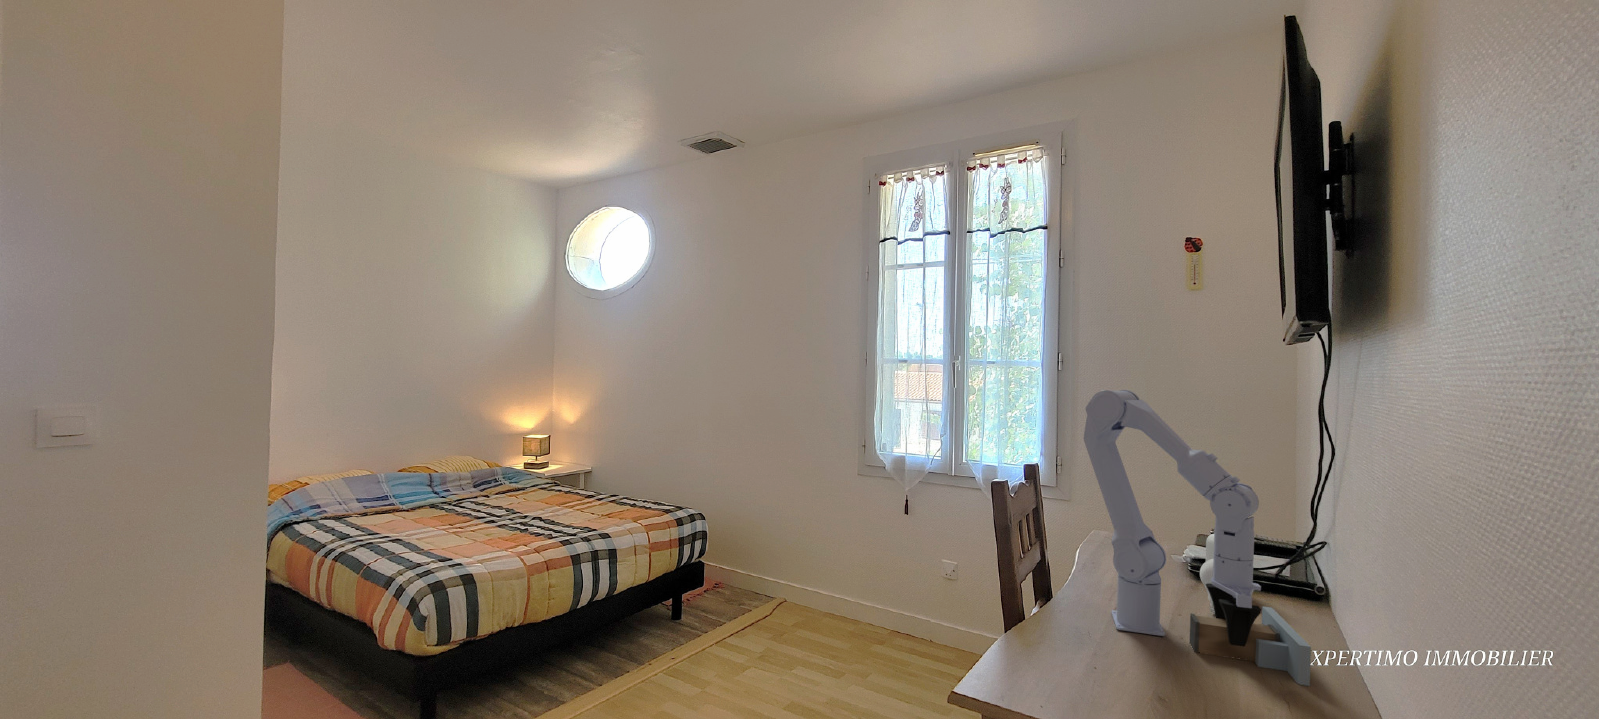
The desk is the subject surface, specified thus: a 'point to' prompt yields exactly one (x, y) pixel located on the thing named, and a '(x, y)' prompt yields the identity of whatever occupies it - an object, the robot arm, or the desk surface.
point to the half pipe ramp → (1226, 638)
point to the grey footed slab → (1284, 649)
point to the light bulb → (1207, 578)
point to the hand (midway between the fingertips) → (1230, 636)
